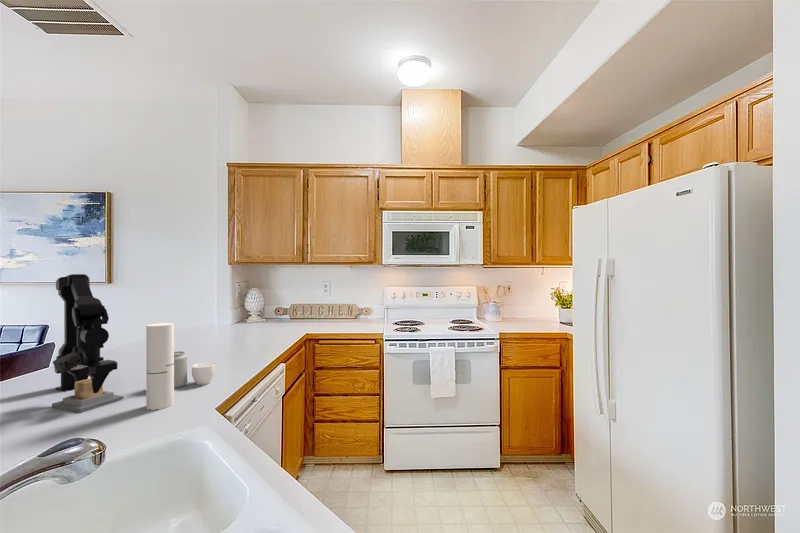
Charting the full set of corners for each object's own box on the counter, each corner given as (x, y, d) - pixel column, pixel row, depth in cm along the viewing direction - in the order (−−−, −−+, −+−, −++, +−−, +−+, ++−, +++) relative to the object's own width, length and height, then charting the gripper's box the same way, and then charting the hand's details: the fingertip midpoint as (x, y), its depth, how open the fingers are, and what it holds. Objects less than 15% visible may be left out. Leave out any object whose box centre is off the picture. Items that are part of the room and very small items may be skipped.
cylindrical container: (179, 403, 117) (179, 323, 117) (158, 411, 110) (157, 326, 110) (162, 400, 119) (162, 322, 120) (140, 408, 112) (140, 325, 113)
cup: (199, 387, 132) (199, 368, 132) (184, 383, 137) (184, 365, 138) (219, 382, 139) (219, 364, 139) (204, 378, 144) (204, 360, 144)
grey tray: (52, 406, 114) (52, 398, 114) (95, 394, 126) (95, 387, 126) (80, 412, 109) (80, 404, 110) (123, 399, 121) (123, 391, 121)
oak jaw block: (74, 401, 116) (74, 382, 116) (92, 396, 121) (92, 377, 121) (84, 403, 114) (84, 383, 114) (102, 398, 119) (102, 379, 119)
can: (176, 389, 130) (176, 355, 130) (157, 388, 132) (157, 354, 132) (192, 383, 138) (192, 350, 138) (174, 382, 139) (174, 350, 139)
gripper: (39, 345, 114) (39, 396, 113) (77, 349, 107) (77, 404, 107) (81, 339, 124) (81, 386, 124) (118, 342, 117) (118, 392, 117)
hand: (88, 391), depth 118 cm, fingers open, 7 cm apart
